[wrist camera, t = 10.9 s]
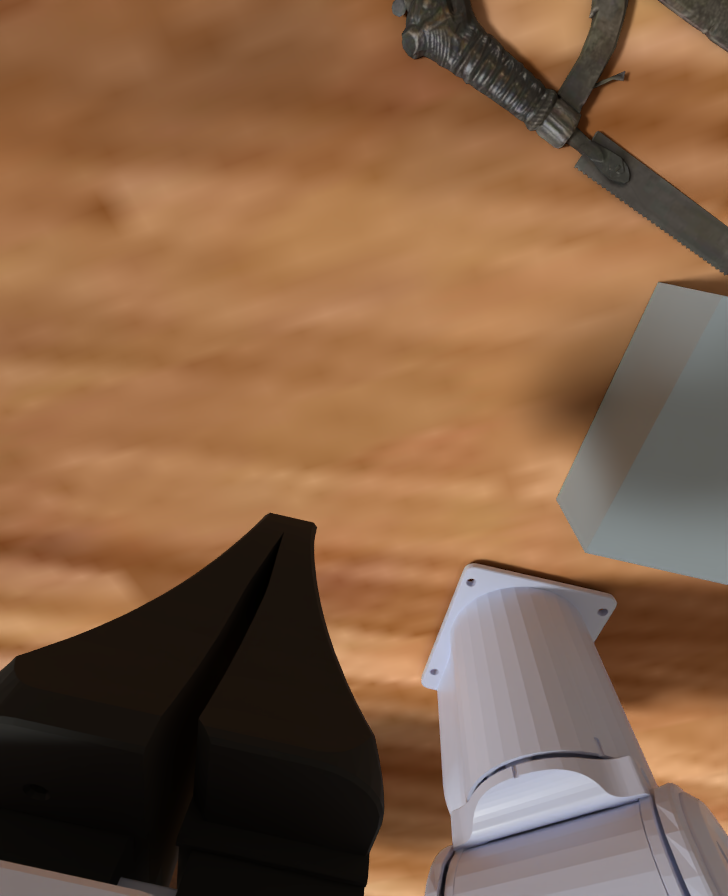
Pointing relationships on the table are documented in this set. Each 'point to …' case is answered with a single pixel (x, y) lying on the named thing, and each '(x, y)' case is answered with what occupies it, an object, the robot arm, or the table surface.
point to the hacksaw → (572, 102)
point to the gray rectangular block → (661, 445)
